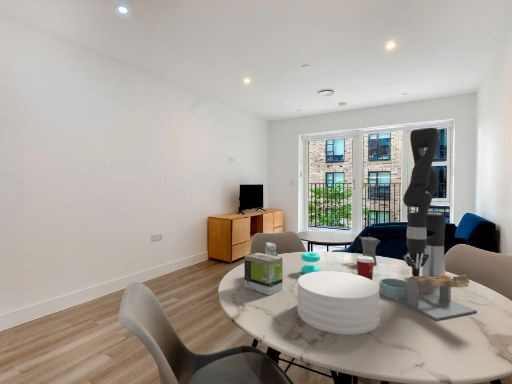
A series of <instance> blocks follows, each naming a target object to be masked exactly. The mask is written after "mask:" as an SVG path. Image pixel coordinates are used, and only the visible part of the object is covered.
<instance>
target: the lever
mask: <svg viewBox="0 0 512 384" xmlns="http://www.w3.org/2000/svg"><path fill="white" fill-rule="evenodd" d="M408 278H411V279H414V280H417V281H419V285H426V286H435V287H440V286H445V287H451V288H459V289H460V288H467V287H469V284H470V279H469V276H468V274H463V275H457V276H452V277H451V278H449V280H439V278H436V277H424V276H422V275H419V277H417V276H415V277H414V276H413V275H411V276H409V277H404V281H406V282H407V283H408ZM419 285H418V286H419Z"/></svg>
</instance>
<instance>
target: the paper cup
mask: <svg viewBox="0 0 512 384" xmlns="http://www.w3.org/2000/svg"><path fill="white" fill-rule="evenodd" d="M355 260H356V267H357V269H356V270H357V272H356V273H357V275H359V276H363V277H365V278H368V279H370V280H372V281H373V278H374V277H373V275H374V266H373V263H374V260H373V258H372V257H369V256H362V255H358V256H356V259H355Z"/></svg>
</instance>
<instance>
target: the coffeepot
mask: <svg viewBox="0 0 512 384" xmlns="http://www.w3.org/2000/svg"><path fill="white" fill-rule="evenodd" d="M359 240H360V241H361V246H362V248H361V247H360V244H359ZM354 241H355V244H356V247H357V250H358V251H361V250H362V254H361V256H369V257H372V258H373V260H374V263H373V267H374V266H377V265H378V264H377V257H376V248H377V246H378V244H379V243H380V242H381V240H379V239H377V237H375V238H374V237H372V236H371V233H368V234H367V236H365V237H364V236H356V237H355V238H354Z"/></svg>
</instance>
